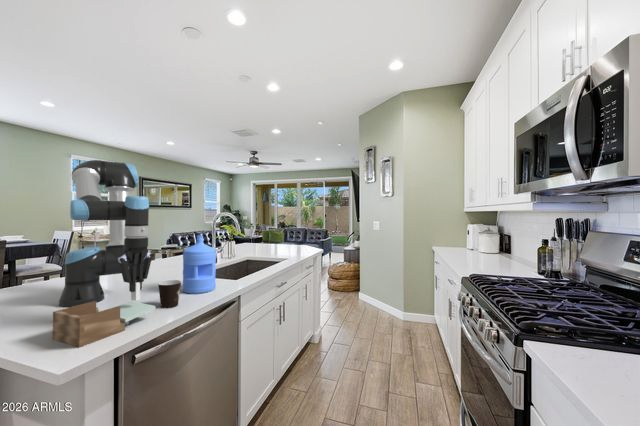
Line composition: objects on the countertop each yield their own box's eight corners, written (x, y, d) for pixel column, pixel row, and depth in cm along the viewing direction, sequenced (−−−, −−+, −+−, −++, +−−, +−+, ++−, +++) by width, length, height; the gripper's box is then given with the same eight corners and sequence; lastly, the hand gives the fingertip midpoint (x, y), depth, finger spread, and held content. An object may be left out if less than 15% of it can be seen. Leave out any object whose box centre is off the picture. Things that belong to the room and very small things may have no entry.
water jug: (189, 286, 149) (189, 234, 149) (218, 285, 151) (219, 234, 151) (177, 294, 134) (178, 237, 134) (210, 294, 135) (211, 237, 135)
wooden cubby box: (52, 338, 86) (52, 311, 86) (98, 323, 98) (99, 299, 98) (79, 347, 81) (79, 318, 81) (124, 330, 93) (125, 305, 93)
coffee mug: (170, 310, 113) (171, 285, 113) (152, 308, 114) (153, 284, 114) (189, 301, 124) (190, 279, 124) (173, 299, 126) (173, 277, 126)
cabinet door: (125, 319, 93) (155, 305, 103) (100, 313, 98) (130, 301, 108) (125, 325, 93) (155, 312, 104) (100, 319, 98) (131, 307, 109)
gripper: (125, 239, 96) (124, 306, 96) (159, 236, 108) (158, 296, 108) (111, 237, 99) (110, 303, 99) (146, 235, 111) (145, 293, 111)
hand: (135, 299), depth 104 cm, fingers closed
